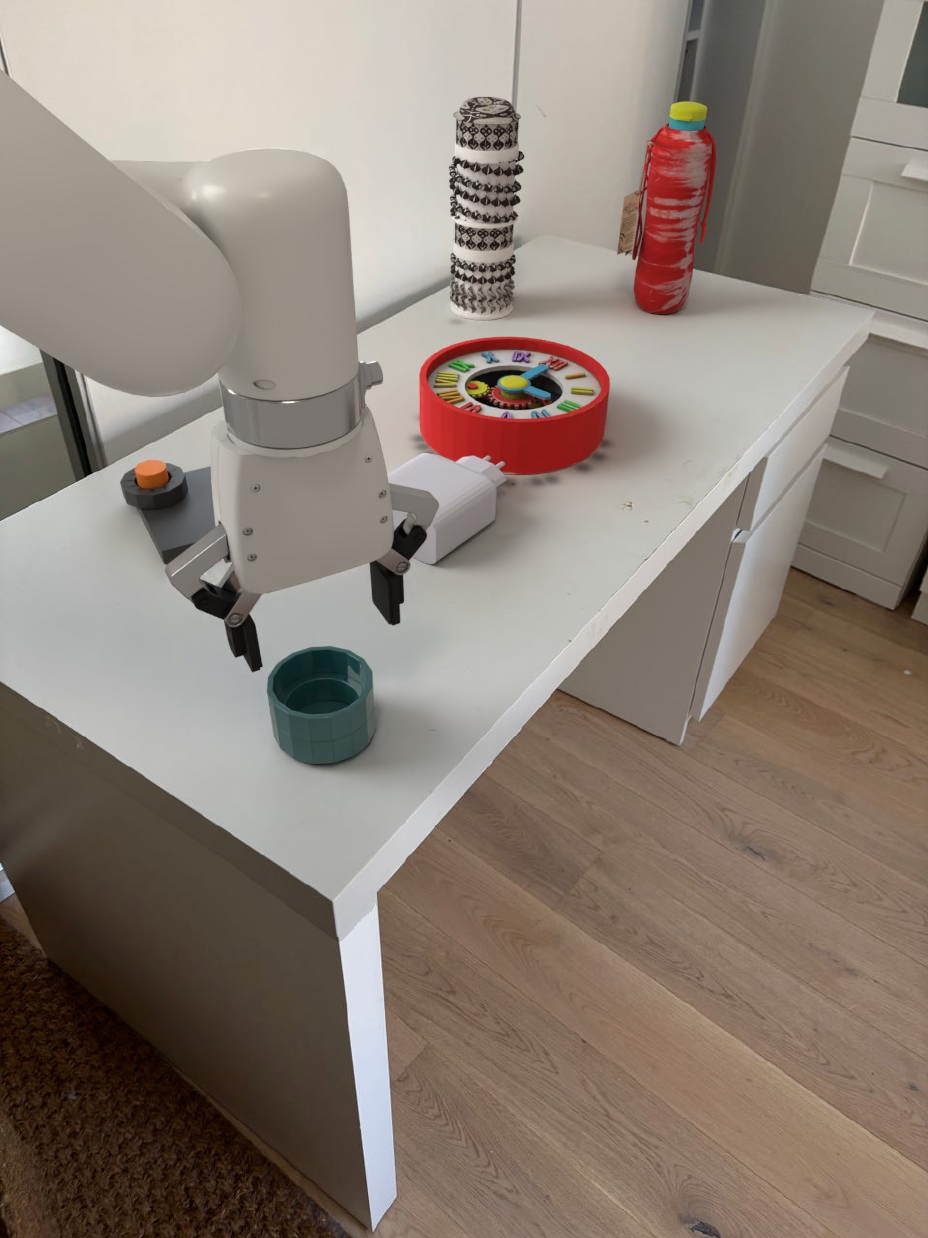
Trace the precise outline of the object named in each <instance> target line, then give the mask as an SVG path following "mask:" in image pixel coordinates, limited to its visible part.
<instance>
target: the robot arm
mask: <svg viewBox="0 0 928 1238" xmlns="http://www.w3.org/2000/svg"><path fill="white" fill-rule="evenodd" d="M350 222H351V220H350V206H349V198H348V190H347V187H346V183H345V180H344V178H343V175H342V174H341V173H340V171H339V170H338V168H337V167H336V166H335V165H334V164H333V163H332V162H330V161H329V160H328V159H327V158H325V157H324V156H320V155H318V154H316V153H312V152H309V151H306V150H305V151H304V150H300V149H294V148H287V147H285V148H284V147H259V148H258V147H257V148H247V149H240V150H236V151H231V152H228V153H224V154H221V155H218V156H215V157H212V158H211V159H208V160H202V161H201V160H198V161H194V160H193V161H168V160H167V161H161V160H160V161H159V160H158V161H157V160H151V161H150V160H134V159H110V158H109V159H108V158H106V156H104V155H103V154H102V153H101V152H99V151H98V150H97V149H96V148H94V147H93V146H92V145H91V144H89V142H87V141H86V140H85V139H83V138H82V137H81V136H80V135H79V134H78V133H76V132H75V131H74V130H72V128H70V127H69V126H68V125H66V123H64V122H63V121H62V120H60V118H58V117H57V116H56V115H55V114H53V112H52V111H50V110H49V109H48V108H46V107H45V106H44V105H43V104H42V103H40V102H39V101H38V100H37V99H36V98H35V97H34V96H32V95H31V94H30V93H28V92H27V90H25V89H24V88H23V87H22V86H21V85H20V84H19V83H17V81H15V80H14V79H13V78H12V77H11V76H9V75H8V74H7V73H6V72H5V71H4V70H2V69H1V68H0V327H1V328H3V329H5V330H7V331H9V332H10V333H12V334H14V335H16V336H17V337H19V338H21V339H22V340H24V341H26V342H27V343H29V344H31V345H32V346H34V347H36V348H38V349H39V350H40V351H42V352H44V353H46V354H47V355H49V356H50V357H52V358H54V359H56V360H57V361H59V362H61V363H62V364H64V365H66V366H67V367H69V368H71V369H72V370H75V371H76V372H77V373H79V374H81V375H83V376H84V377H86V378H88V379H90V380H92V381H94V382H96V383H98V384H100V385H102V386H105V387H107V388H109V389H111V390H115V391H118V392H123V393H124V394H128V395H132V396H138V397H139V396H140V397H147V398H159V397H161V398H162V397H172V396H176V395H181V394H184V393H187V392H190V391H192V390H194V389H196V388H199V387H201V386H202V385H203V384H205V383H207V382H208V381H209V380H211V379H212V378H213V377H214V376H215V375H216V374H217V381H218V385H219V391H220V397H221V403H222V410H223V415H224V418H222V419H220V420H217V421H216V422H215V423H214V424H213V426H212V428H211V435H210V436H211V438H210V466H211V484H212V497H213V507H214V517H215V526H216V527H215V528H214V529H212V530H211V531H210V532H209V533H207V534H206V535H205V536H203V537H202V538H201V539H200V540H198V541H197V542H196V543H194V544H193V545H192V546H191V547H189V548H188V549H187V550H185V551H184V552H183V553H181V554H180V555H179V556H178V557H176V558H175V559H174V560H172V561H171V562H170V563H167V564H166V566H165V568H164V573H165V574H166V577H167V579H168V581H169V583H170V584H171V586H172V587H174V588H175V589H176V590H177V591H178V592H179V593H180V594H181V595H182V596H183V597H185V598H186V599H187V600H189V602H190V603H192V604H193V606H194V608H195V609H197V610H198V611H200V612H203V613H205V614H208V615H210V616H212V617H215V618H218V619H220V620H223V623H224V628H225V633H226V638H227V644H228V646H229V649H230V651H231V653H232V655H233V658H235V659H237V658H239V657H243V658H244V660H245V662H246V664H247V666H248V667H249V669H250V671H251V673H256V672H258V671H261V668H263V666H264V665H263V660H262V659H263V658H262V654H261V648H260V642H259V637H258V631H257V625H256V623H255V621H254V619H253V617H252V615H251V612H252V610H253V609H254V607H255V606H256V605H257V603H258V601H259V600H260V598H261V597H262V596H263V595H265V594H266V595H267V594H271V593H274V592H278V591H282V590H285V589H289V588H293V587H296V586H300V585H303V584H306V583H309V582H313V581H316V580H321V579H324V578H326V577H330V576H333V575H336V574H339V573H342V572H346V571H349V570H352V569H355V568H359V567H361V566H365V565H367V564H369V571H370V572H369V574H370V575H369V576H370V589H371V590H370V591H371V600H372V601H371V602H372V603H373V605H374V606H375V608H376V609H377V610H378V612H379V614H381V616H382V617H383V618H384V620H385V621H386V623H387V624H388V625H390V626H396V625H400V624H401V608H400V607H401V605H402V604H404V603H405V585H404V584H405V583H404V575H405V574H407V573H408V572H409V570H410V569H411V561H410V560H411V559H413V555H414V554H415V553H416V552H417V550H418V549H419V548H420V547H421V545H422V544H423V543H424V542H425V540H426V538H427V533H426V531H427V528H428V527H430V525H431V523H432V521H433V519H434V517H435V514H436V512H437V510H438V508H439V502H438V501H437V500H436V499H435V498H434V497H433V496H432V494H431V493H430V492H428V491H425V490H420V489H415V488H410V487H405V486H401V485H396V484H391V483H389V481H388V475H387V474H388V471H387V466H386V461H385V457H384V456H385V455H384V453H383V449H382V448H383V447H382V444H381V439H380V436H379V432H378V429H377V426H376V422H375V418H374V416H373V413H372V411H371V409H370V408H369V406H368V405H367V403H366V394H367V391H369V390H371V389H372V387H376V386H379V385H382V384H383V383H384V373H383V370H382V367H381V365H380V363H379V362H378V361H377V360H375V361H370V362H366V361H359V347H358V346H359V345H358V332H357V331H358V330H357V316H356V315H357V314H356V301H355V299H356V298H355V284H354V267H353V252H352V238H351V237H352V235H351V223H350ZM392 510H397V511H403V512H408V513H407V515H406V516H407V518H406V519H404V520H403V521H402V522H401V523H400V525H399V526H398V527H397V528H396V530H395V531H394V522H393V511H392ZM222 560H223V562H224V563H225V564H229V563H231V564H230V566H229V567H228V569H227V570H226V572H225V573H224V575H223V577H222V578H221V580H220V581H219V582H218V584H217V585H216V584H213V583H211V582H210V581H207V580H205V579H201V577H202V576H203V575H204V574H205V573H206V572H208V571H209V570H210V569H212V568H213V567H214V566H215V565H217V564H218V563H219V562H221V561H222Z"/></svg>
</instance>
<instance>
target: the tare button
mask: <svg viewBox="0 0 928 1238" xmlns="http://www.w3.org/2000/svg"><path fill="white" fill-rule="evenodd" d="M165 463H166V462H164V461H163V460H158V459H148V460H144V461H141V462H139V463H138V464H136V465H135V467H134V468H135V473H136V478H137V482H138V485H139V486H140V487H142V488H156V487H160V486H163V485H165V484H167V483H168V481H169V477H168V472H167V468H166V464H165Z"/></svg>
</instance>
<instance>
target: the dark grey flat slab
mask: <svg viewBox="0 0 928 1238" xmlns="http://www.w3.org/2000/svg"><path fill="white" fill-rule="evenodd" d="M164 463H165V464H166V468H167V472H168V477H169V481H168V483H167V484H165V485H163V486H160V487H156V488H142V487H140V486H139V485H138V482H137V478H136V473H135V467H134V468H132V469H130V470H128V471H126V472H125V473H124V475H123V476H122V478H121V480H120V481H119V483H120V488H121V492H122V497H123V498H124V500H125V502H126V504H127V505H129V506H132V507H133V508H135V509H136V511H137V513H138V514H139V516H140V519H141V520H142V522H143V524H144V526H145V529H146V530H147V532H148V534H149V537H150V538H151V540H152V543H153V544H154V546H155V549H156V551H157V552H158V555H159V556H160V558H161V561H162V563H163V564H164V565H168V564H169V563H170V562H171V561H172V560H174V559H175V558H176V557H178V556H179V555H180V554H181V553H183V552H184V551H185V550H187V549H188V548H189V547H191V546H192V545H193V544H194V543H196V542H197V541H198V540H200V539H201V538H202V537H203V536H205V535H206V534H207V533H209V532H210V531H211V530H212V529H214V528H215V527H216V526H215V517H214V507H213V497H212V484H211V465H209V466H205V467H202V468H197V469H193V470H189V471H183V468H182V467H180V466H178V465H175V464H173V463H170V462H164Z"/></svg>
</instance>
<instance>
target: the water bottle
mask: <svg viewBox="0 0 928 1238" xmlns="http://www.w3.org/2000/svg"><path fill="white" fill-rule="evenodd" d="M707 112H708V106H707V105H705V104H704V103H703V104H702V103H700V102H695V101H679V102H674V103H672V104H671V106H670V110H669V122H668V123H665V125H664V126H663V127H661V128H659V129H658V131H657V133H655V135H654V136H653V137H652V138H650V139H649V140H646V141H645V144H646V147H645V151H644V156H643V161H642V168H641V173H640V179H639V186H638V190H636V191H633V192H631V193H629V194H627V195H625V196H624V197H623V204H622V212H621V220H620V228H619V234H618V235H619V236H618V243H617V252H616V255H617V256H619V255H621V254H624V253H625V255H624V257H626V256H628V255H629V253H631V252H632V255H631V259H632V261H635V260H637V262H636V266H635V272H634V282H633V294H634V299H635V303H636V305H637V306H638V307H639V308H640V309H641V310H642V311H644V312H647V313H650V314H654V315H670V314H674V313H676V312H678V311H680V310H681V309H682V307H683V306H684V304H685V302H686V301H687V298H688V297H689V295H690V289H691V285H692V279H693V273H694V265H695V264H694V263H695V254H696V245H697V235H698V229H699V224H700V226H701V229H700V230H701V231H700V238H699V239H700V240H699V243H700V244H701V245H702V244H703V243H704V240H705V236H706V230H707V223H706V222H707V221H706V220H707V218H708V216H709V211H710V206H711V200H712V195H713V190H714V182H715V173H716V168H717V167H716V166H717V146H716V142H715V139H714V137H713V136H712V134H711V133H710V132H709V129H708V126H706V125H705V122H706V119H707ZM645 193H646V201H645V207H646V208H645V216H644V222H643V214H642V211H643V206H644V198H645ZM705 198H706V199H705ZM705 200H706V202H705ZM704 202H705V208H704V213H703V218H702V220H701V222H700V218H701V214H702V210H703V206H704ZM637 256H638V257H637Z"/></svg>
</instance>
